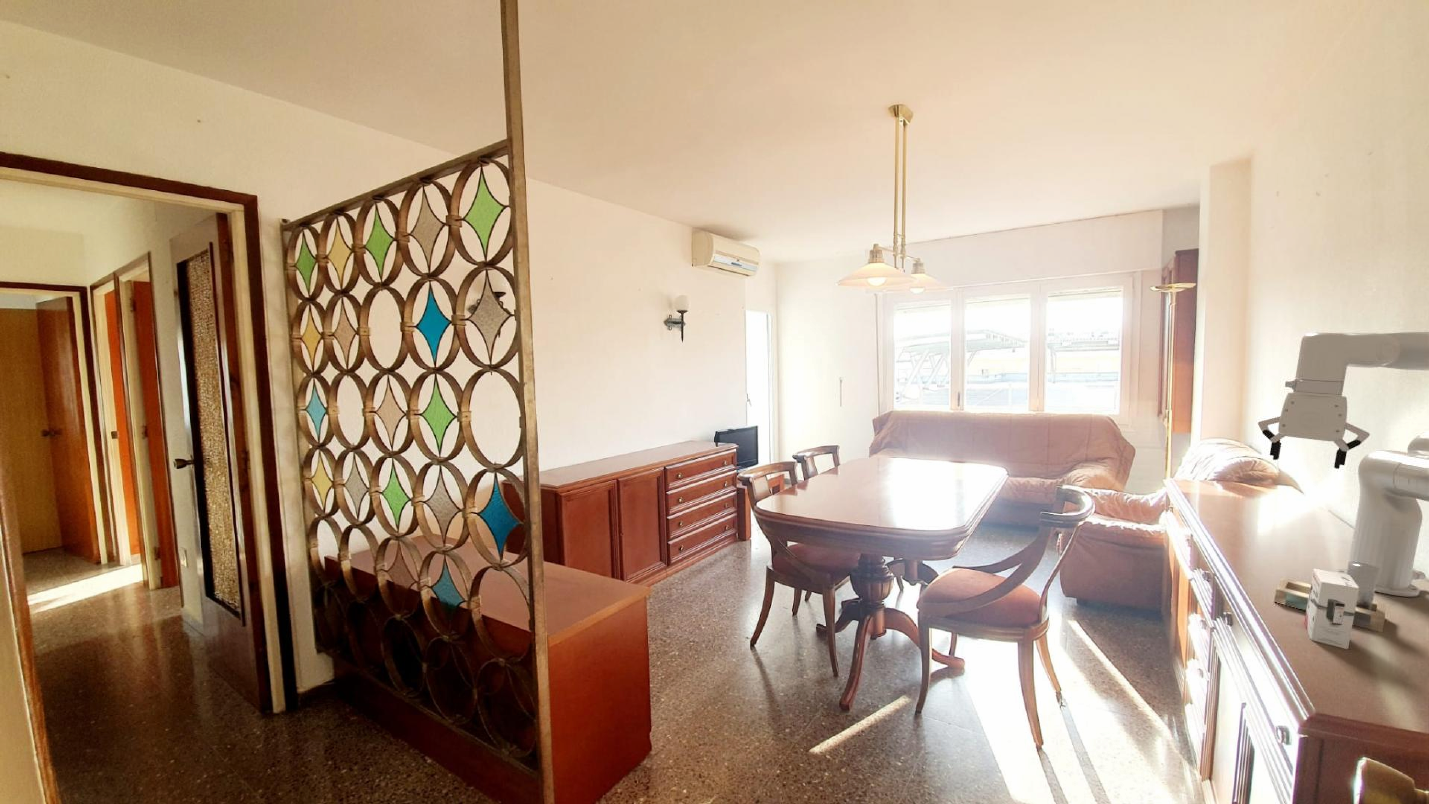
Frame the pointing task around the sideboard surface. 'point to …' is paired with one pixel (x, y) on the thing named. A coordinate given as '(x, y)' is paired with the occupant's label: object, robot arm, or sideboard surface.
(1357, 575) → the peg
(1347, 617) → the ink box
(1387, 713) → the sideboard surface
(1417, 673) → the sideboard surface
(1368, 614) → the socket block
